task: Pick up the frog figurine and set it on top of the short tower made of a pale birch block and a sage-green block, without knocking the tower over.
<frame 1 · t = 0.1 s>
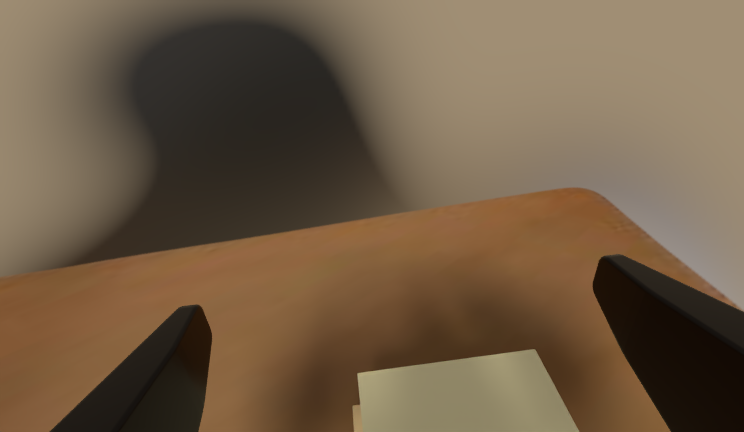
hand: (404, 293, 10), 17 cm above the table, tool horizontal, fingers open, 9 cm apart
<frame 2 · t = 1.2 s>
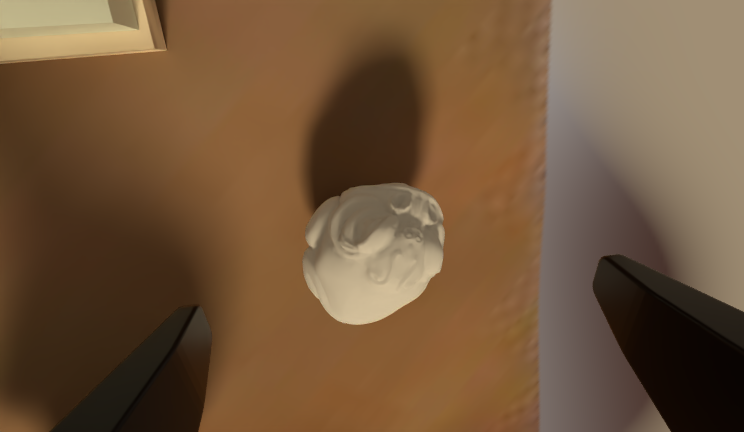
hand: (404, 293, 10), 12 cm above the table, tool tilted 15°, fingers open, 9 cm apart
frog figurine: (353, 220, 22), on the table
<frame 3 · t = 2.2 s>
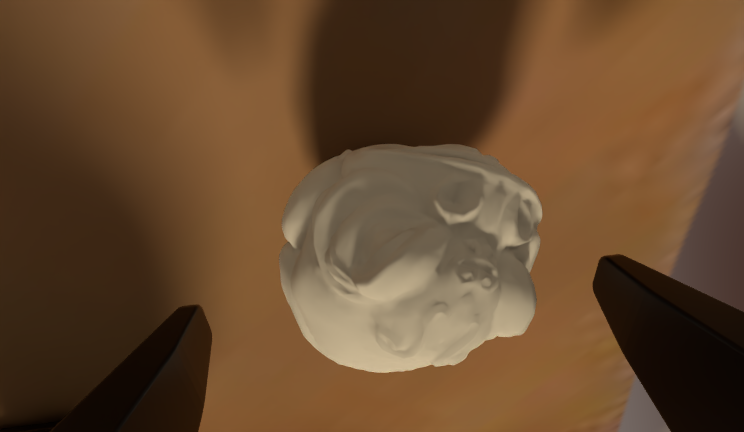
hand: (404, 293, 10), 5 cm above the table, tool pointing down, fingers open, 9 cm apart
frog figurine: (382, 181, 14), on the table
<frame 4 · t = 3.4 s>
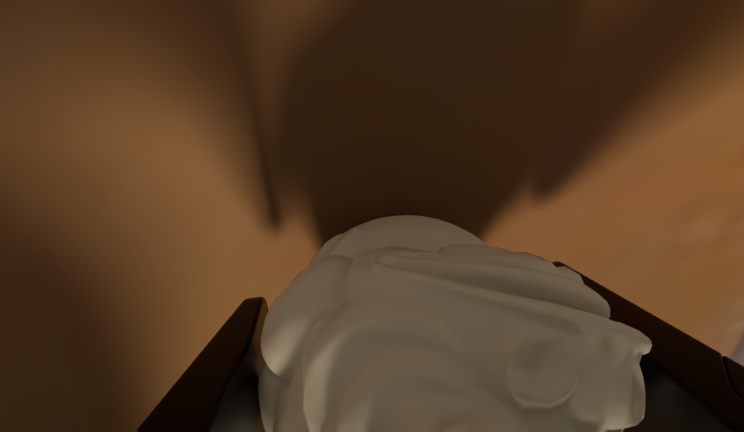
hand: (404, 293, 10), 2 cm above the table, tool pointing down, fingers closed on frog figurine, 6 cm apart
frog figurine: (395, 247, 11), on the table, touching gripper
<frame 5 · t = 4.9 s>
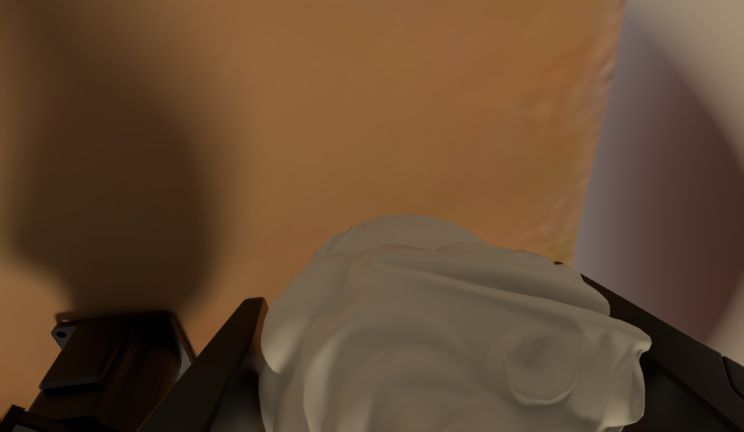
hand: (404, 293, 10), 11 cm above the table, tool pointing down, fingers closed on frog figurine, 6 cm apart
frog figurine: (395, 246, 11), point 10 cm above the table, touching gripper
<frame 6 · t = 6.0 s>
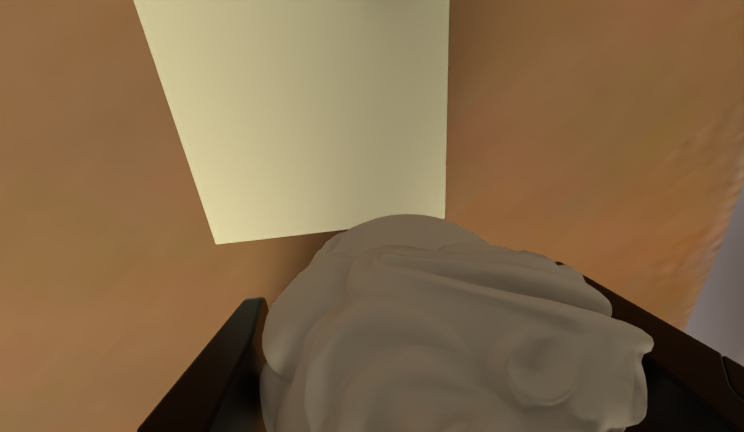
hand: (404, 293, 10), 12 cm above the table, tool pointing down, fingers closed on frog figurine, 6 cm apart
frog figurine: (396, 246, 11), point 10 cm above the table, touching gripper
upper block: (316, 95, 17), point 2 cm above the table, touching lower block
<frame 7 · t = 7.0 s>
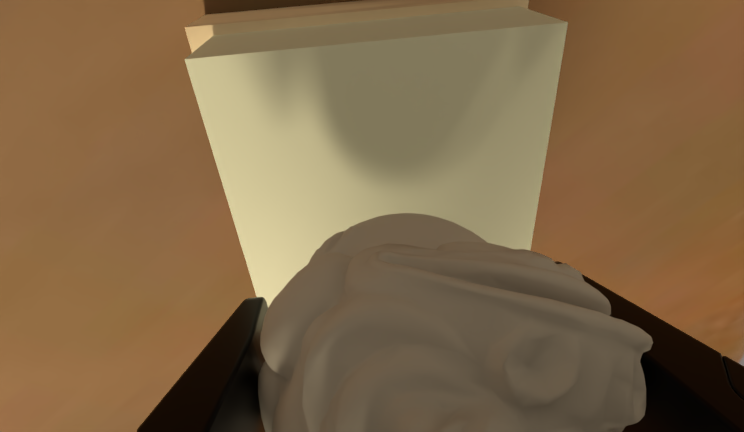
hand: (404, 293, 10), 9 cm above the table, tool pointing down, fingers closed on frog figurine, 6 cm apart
frog figurine: (395, 245, 11), point 7 cm above the table, touching gripper
upper block: (378, 160, 15), point 2 cm above the table, touching lower block
lower block: (365, 134, 17), on the table, touching upper block
when the fingers open (9 cm above the table, at t = 8.1 s): frog figurine drops 2 cm, resting on upper block.
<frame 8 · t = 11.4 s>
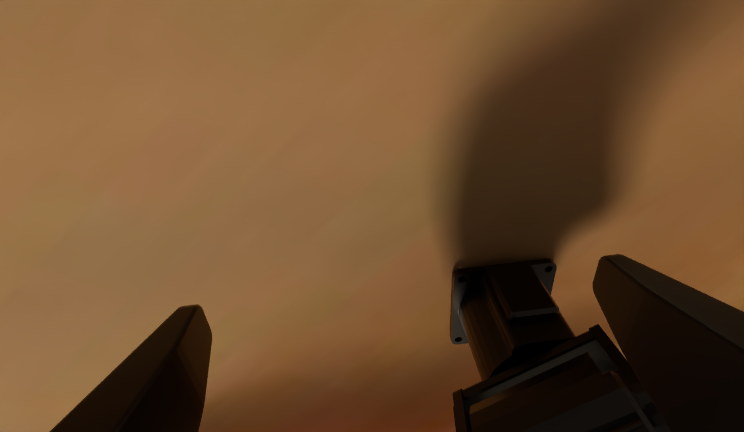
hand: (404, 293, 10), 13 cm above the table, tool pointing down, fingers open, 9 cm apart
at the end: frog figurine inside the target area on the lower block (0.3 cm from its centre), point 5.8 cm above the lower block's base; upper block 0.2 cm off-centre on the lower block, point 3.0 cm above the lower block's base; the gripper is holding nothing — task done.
